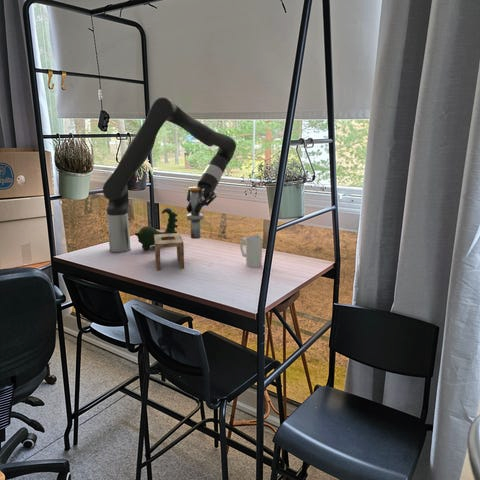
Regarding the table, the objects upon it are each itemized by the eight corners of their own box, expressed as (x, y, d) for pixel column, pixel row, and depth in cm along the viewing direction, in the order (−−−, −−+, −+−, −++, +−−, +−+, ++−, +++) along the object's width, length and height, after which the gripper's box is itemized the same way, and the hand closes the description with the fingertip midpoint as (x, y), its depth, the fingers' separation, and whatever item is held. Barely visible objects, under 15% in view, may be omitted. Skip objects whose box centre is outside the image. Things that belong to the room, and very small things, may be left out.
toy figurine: (167, 243, 217) (128, 250, 198) (168, 206, 214) (128, 209, 194) (181, 246, 212) (141, 253, 192) (182, 208, 208) (141, 211, 188)
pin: (188, 240, 170) (187, 188, 165) (186, 235, 177) (185, 186, 172) (205, 239, 172) (204, 188, 167) (202, 235, 178) (202, 186, 173)
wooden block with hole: (156, 270, 171) (155, 244, 168) (155, 259, 186) (154, 234, 183) (184, 268, 173) (183, 242, 171) (180, 257, 188) (179, 233, 186)
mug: (265, 264, 178) (265, 236, 175) (256, 268, 173) (256, 239, 170) (245, 260, 184) (245, 233, 181) (236, 264, 178) (235, 236, 175)
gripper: (193, 171, 178) (173, 204, 171) (220, 173, 170) (201, 208, 163) (201, 182, 183) (183, 215, 177) (228, 185, 176) (210, 219, 169)
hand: (192, 211), depth 170 cm, fingers closed on pin, 3 cm apart
